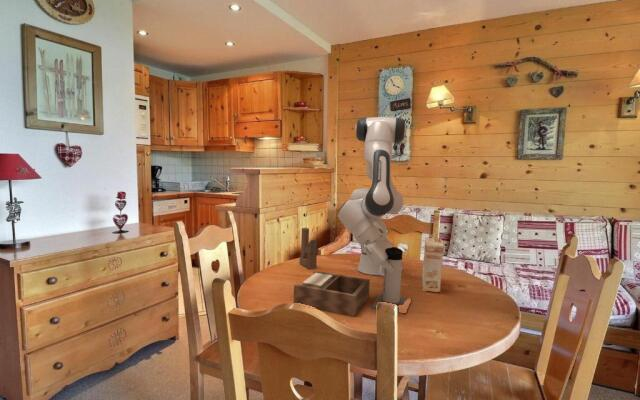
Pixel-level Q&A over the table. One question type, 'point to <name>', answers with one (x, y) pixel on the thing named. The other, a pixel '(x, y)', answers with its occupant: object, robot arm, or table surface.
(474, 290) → the table surface
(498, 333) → the table surface
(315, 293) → the walnut rack
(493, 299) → the table surface
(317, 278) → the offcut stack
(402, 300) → the rubber mat
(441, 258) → the coffeecake box
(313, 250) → the brown wooden handled piece
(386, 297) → the travel mug
